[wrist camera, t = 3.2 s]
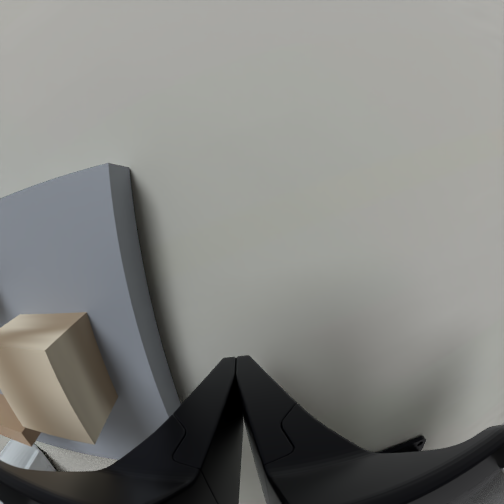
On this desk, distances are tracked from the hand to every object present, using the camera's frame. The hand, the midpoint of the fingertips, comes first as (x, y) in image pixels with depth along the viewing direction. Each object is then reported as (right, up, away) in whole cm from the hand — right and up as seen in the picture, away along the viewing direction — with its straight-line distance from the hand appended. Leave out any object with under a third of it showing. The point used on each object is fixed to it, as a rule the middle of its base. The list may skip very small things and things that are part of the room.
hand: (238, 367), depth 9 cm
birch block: (-7, -1, +1) cm, 7 cm away
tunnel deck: (-16, -1, +2) cm, 17 cm away
